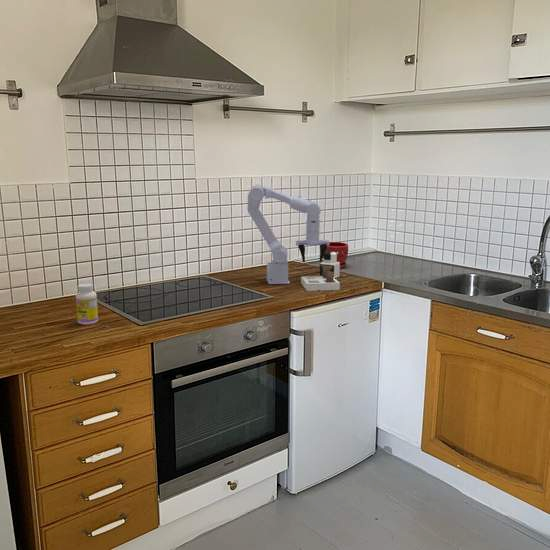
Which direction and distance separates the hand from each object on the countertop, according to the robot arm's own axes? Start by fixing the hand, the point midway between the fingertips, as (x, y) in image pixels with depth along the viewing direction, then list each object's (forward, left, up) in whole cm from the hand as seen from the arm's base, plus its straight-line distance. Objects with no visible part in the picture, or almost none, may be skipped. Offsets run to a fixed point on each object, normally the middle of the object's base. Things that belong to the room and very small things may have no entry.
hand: (312, 261), depth 245 cm
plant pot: (+18, +33, -10) cm, 39 cm away
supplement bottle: (-86, -51, -10) cm, 100 cm away
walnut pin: (+6, -11, -9) cm, 16 cm away
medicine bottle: (+10, +9, -10) cm, 17 cm away
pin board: (+2, -8, -9) cm, 13 cm away
